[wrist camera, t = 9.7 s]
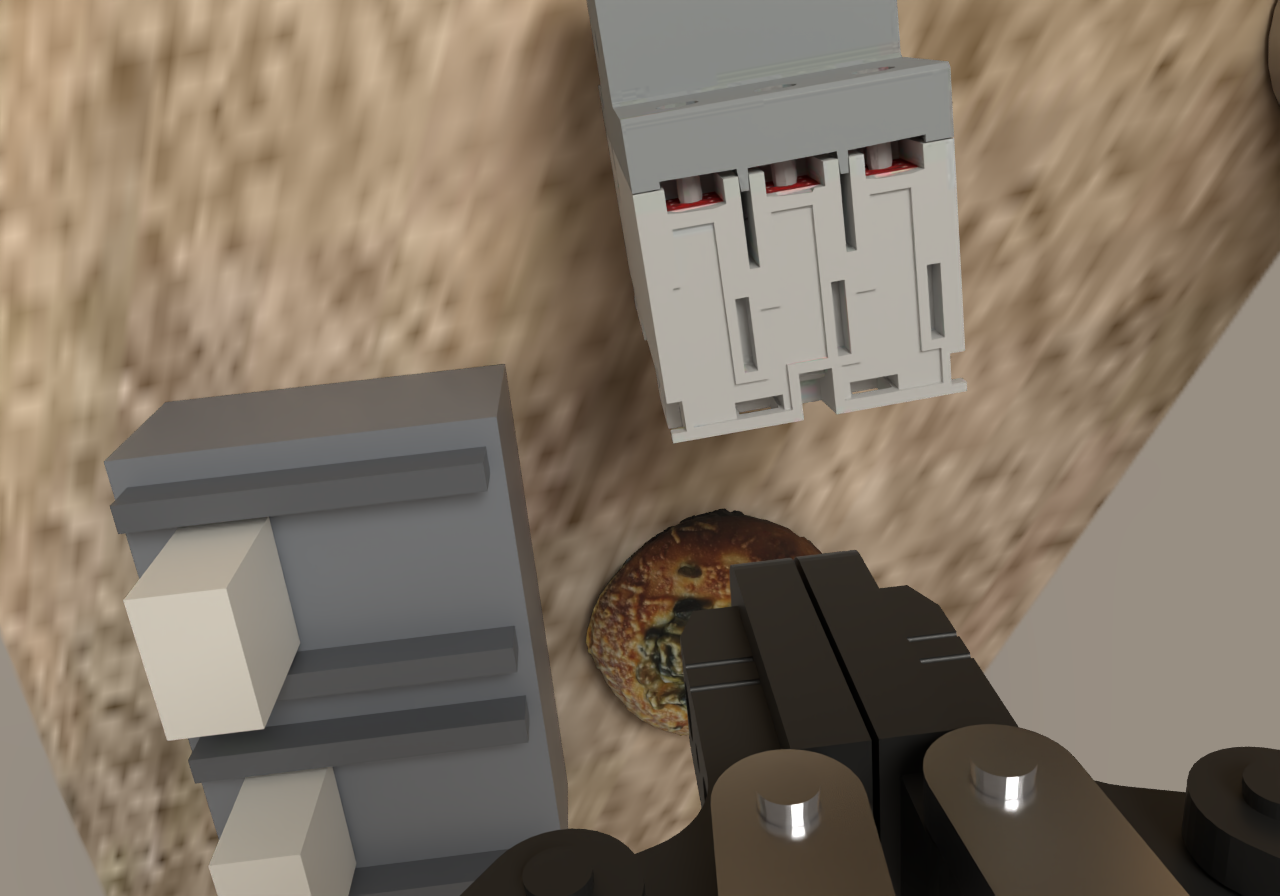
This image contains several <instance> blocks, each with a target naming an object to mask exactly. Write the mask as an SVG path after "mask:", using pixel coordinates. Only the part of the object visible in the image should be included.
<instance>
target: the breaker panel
mask: <svg viewBox="0 0 1280 896" xmlns="http://www.w3.org/2000/svg"><path fill="white" fill-rule="evenodd" d="M104 464H105V468H106V471H107V474H108V477H109V481H110V484H111V487H112V491H113V494H114V497H115V501H114V502H113V503H112V504H111V505H110V509H111V512H112V515H113V518H114V522H115V525H116V528H117V531H118V534H123V533H126V536H127V540H128V543H129V546H130V550H131V553H132V556H133V559H134V563H135V566H136V569H137V572H138V576H139V579H140V578H141V576H142V575H143V574H144V573H145V571H146V570H147V569H148V567H149V566H150V565H151V563H152V562H153V561H154V559H155V558H156V557H157V555H158V554H159V553H160V551H161V550H162V549H163V547H164V546H165V545H166V543H167V542H168V541H169V539H170V538H171V537H172V536H173V534H174V533H175V532H176V530H177V529H178V528H179V527H183V526H192V525H200V524H209V523H217V522H226V521H235V520H243V519H252V518H261V517H269V519H270V523H271V527H272V531H273V535H274V540H275V544H276V548H277V552H278V556H279V560H280V564H281V568H282V572H283V576H284V580H285V584H286V588H287V592H288V596H289V600H290V604H291V608H292V612H293V616H294V620H295V624H296V628H297V632H298V636H299V640H300V645H299V647H298V650H297V652H296V655H295V657H294V659H293V662H292V664H291V666H290V669H289V671H288V674H287V676H286V678H285V681H284V683H283V686H282V688H281V690H280V693H279V695H278V697H277V700H276V702H275V705H274V707H273V709H272V712H271V714H270V717H269V719H268V721H267V724H266V726H265V728H264V729H260V730H251V731H243V732H235V733H227V734H218V735H210V736H202V737H194V738H188V740H189V743H190V746H191V749H192V754H191V756H190V758H189V760H188V762H189V765H190V768H191V772H192V775H193V778H194V781H195V783H202V785H203V789H204V792H205V795H206V799H207V802H208V805H209V808H210V812H211V815H212V818H213V821H214V825H215V828H216V831H217V835H218V838H219V840H220V837H221V835H222V832H223V830H224V828H225V825H226V823H227V820H228V818H229V816H230V813H231V811H232V808H233V806H234V804H235V801H236V799H237V796H238V794H239V792H240V789H241V787H242V784H243V782H244V780H245V777H251V776H260V775H268V774H276V773H284V772H292V771H300V770H308V769H317V768H325V767H333V771H334V775H335V779H336V783H337V787H338V791H339V795H340V799H341V803H342V807H343V811H344V815H345V819H346V824H347V828H348V832H349V836H350V840H351V844H352V848H353V852H354V856H355V860H356V867H355V871H354V875H353V879H352V883H351V887H350V891H349V895H348V896H460V895H461V894H462V893H463V892H464V891H465V890H466V889H467V888H468V887H469V886H470V885H471V884H472V883H473V882H474V881H475V880H476V879H477V878H478V877H479V876H480V875H481V874H482V873H483V872H484V871H485V870H486V869H487V868H488V867H489V866H490V865H491V864H492V863H493V862H494V861H495V860H496V859H497V858H499V857H500V856H501V855H502V854H503V853H505V852H506V851H507V850H508V849H510V848H512V847H513V846H515V845H516V844H518V843H520V842H522V841H524V840H526V839H528V838H530V837H533V836H536V835H539V834H542V833H545V832H550V831H555V830H562V829H568V783H567V776H566V770H565V763H564V756H563V750H562V743H561V736H560V729H559V723H558V716H557V709H556V703H555V696H554V689H553V683H552V676H551V669H550V662H549V656H548V649H547V642H546V636H545V629H544V622H543V615H542V609H541V602H540V595H539V589H538V582H537V575H536V569H535V562H534V555H533V548H532V542H531V535H530V528H529V522H528V515H527V508H526V502H525V495H524V488H523V481H522V475H521V468H520V461H519V455H518V448H517V441H516V435H515V428H514V421H513V414H512V408H511V401H510V394H509V388H508V381H507V374H506V368H505V364H501V365H492V366H483V367H474V368H465V369H456V370H448V371H439V372H430V373H421V374H412V375H403V376H394V377H385V378H377V379H368V380H359V381H350V382H341V383H332V384H323V385H314V386H305V387H297V388H288V389H279V390H270V391H261V392H252V393H243V394H234V395H226V396H217V397H208V398H199V399H190V400H181V401H172V402H165V403H164V404H163V405H162V406H161V407H160V408H159V409H158V410H157V411H156V412H155V413H154V414H153V415H152V416H151V417H150V418H149V419H148V420H146V421H145V422H144V423H143V424H142V425H141V426H140V427H139V428H138V429H137V430H136V431H135V432H134V433H133V434H132V435H131V436H130V437H129V438H128V439H127V440H126V441H125V442H124V443H122V444H121V445H120V446H119V447H118V448H117V449H116V450H115V451H114V452H113V453H112V454H111V455H110V456H109V457H108V458H107V459H106V460H105V461H104Z"/></svg>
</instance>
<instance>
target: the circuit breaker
mask: <svg viewBox="0 0 1280 896" xmlns="http://www.w3.org/2000/svg"><path fill="white" fill-rule="evenodd" d="M587 6H588V12H589V17H590V23H591V29H592V35H593V41H594V47H595V53H596V59H597V65H598V71H599V77H600V83H601V85H598V88H599V94H600V100H601V105H602V111H603V117H604V123H605V129H606V135H607V141H608V147H609V153H610V159H611V164H612V170H613V176H614V182H615V188H616V194H617V200H618V206H619V212H620V218H621V223H622V229H623V235H624V241H625V247H626V253H627V259H628V265H629V271H630V275H631V279H632V282H633V288H634V294H635V296H634V300H635V306H636V310H637V312H638V318H639V321H640V325H641V329H642V333H643V336H644V340H647V341H648V344H649V348H650V351H651V355H652V359H653V362H654V366H655V370H656V376H657V382H658V388H659V394H660V399H661V403H662V407H663V411H664V414H665V418H666V422H667V425H668V428H669V429H672V428H678V427H683V428H678V429H673V430H671V436H672V441H673V443H679V442H684V441H690V440H695V439H701V438H707V437H712V436H718V435H723V434H729V433H735V432H740V431H746V430H751V429H757V428H763V427H768V426H774V425H779V424H785V423H791V422H796V421H802V420H804V416H803V407H802V403H808V402H813V401H819V400H822V401H823V402H824V403H825V404H826V405H828V406H829V407H830V408H831V409H832V410H833V411H834V412H835V413H836V414H841V413H847V412H852V411H858V410H863V409H869V408H874V407H880V406H886V405H891V404H897V403H902V402H908V401H914V400H919V399H925V398H930V397H936V396H942V395H947V394H953V393H958V392H964V391H967V382H966V381H965V380H964V379H963V378H958V379H952V380H951V365H950V353H955V352H961V351H965V340H964V321H963V302H962V283H961V263H960V244H959V225H958V205H957V186H956V167H955V148H954V138H951V137H954V128H953V109H952V90H951V71H950V65H949V62H948V61H938V60H928V59H918V58H908V57H902V55H901V52H900V38H899V24H898V10H897V0H587ZM873 388H878V389H879V390H874V391H869V392H863V393H857V394H852V392H856V391H862V390H868V389H873ZM767 407H771V409H768V410H762V411H757V412H751V413H745V414H739V412H745V411H750V410H756V409H761V408H767Z"/></svg>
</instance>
